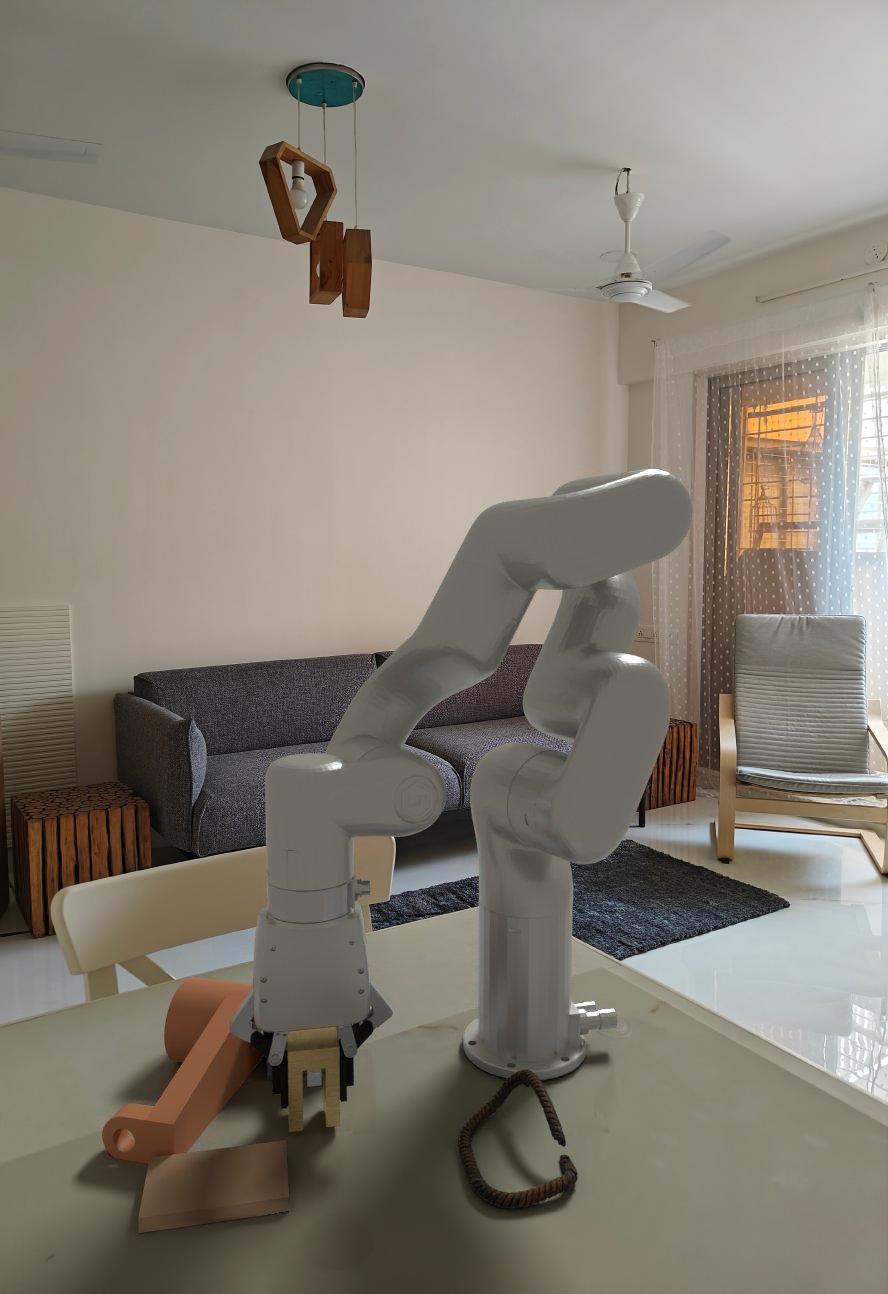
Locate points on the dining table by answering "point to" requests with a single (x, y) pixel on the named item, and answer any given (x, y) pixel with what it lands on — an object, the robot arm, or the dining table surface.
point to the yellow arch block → (312, 1054)
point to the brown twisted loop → (557, 1133)
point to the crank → (188, 1073)
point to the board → (214, 1186)
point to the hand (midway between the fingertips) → (313, 1094)
